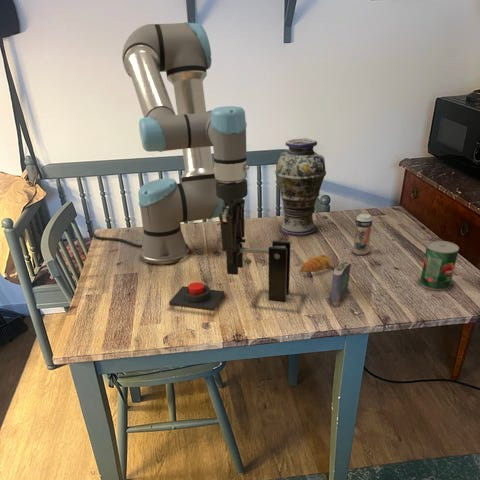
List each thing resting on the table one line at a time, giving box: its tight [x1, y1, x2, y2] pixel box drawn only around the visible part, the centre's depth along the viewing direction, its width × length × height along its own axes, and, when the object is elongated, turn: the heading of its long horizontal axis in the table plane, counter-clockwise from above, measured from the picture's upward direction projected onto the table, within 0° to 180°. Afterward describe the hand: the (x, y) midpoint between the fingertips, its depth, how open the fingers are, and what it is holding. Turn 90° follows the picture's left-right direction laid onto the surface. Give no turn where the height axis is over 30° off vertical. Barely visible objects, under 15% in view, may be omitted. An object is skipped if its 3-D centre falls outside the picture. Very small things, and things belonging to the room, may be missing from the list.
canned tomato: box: [419, 240, 460, 291], centre depth 124 cm, size 8×8×11 cm
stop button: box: [187, 281, 205, 295], centre depth 119 cm, size 4×4×2 cm
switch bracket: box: [268, 240, 292, 303], centre depth 118 cm, size 12×9×16 cm
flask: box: [330, 259, 352, 303], centre depth 119 cm, size 9×3×11 cm, turn 151°
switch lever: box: [236, 243, 286, 256], centre depth 116 cm, size 15×4×4 cm, turn 73°
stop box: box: [168, 284, 226, 312], centre depth 121 cm, size 12×9×4 cm
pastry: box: [300, 254, 333, 273], centre depth 136 cm, size 9×7×4 cm
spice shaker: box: [352, 213, 373, 256], centre depth 143 cm, size 5×5×12 cm
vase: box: [274, 138, 327, 237], centre depth 157 cm, size 17×17×30 cm
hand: (235, 270), depth 121 cm, fingers closed on switch lever, 4 cm apart
